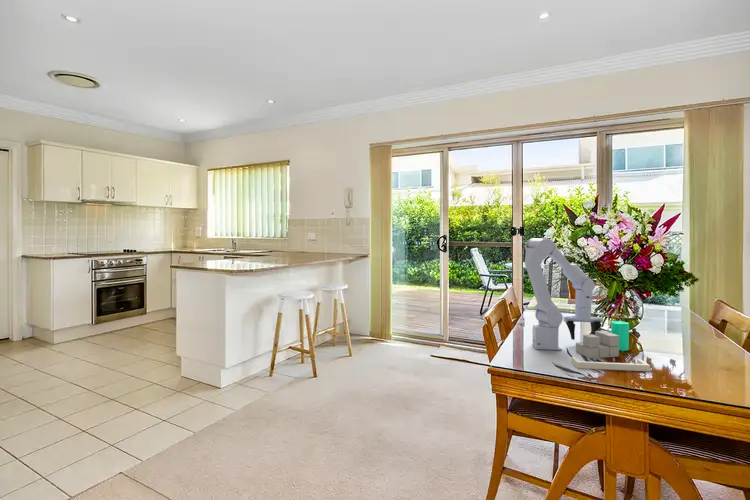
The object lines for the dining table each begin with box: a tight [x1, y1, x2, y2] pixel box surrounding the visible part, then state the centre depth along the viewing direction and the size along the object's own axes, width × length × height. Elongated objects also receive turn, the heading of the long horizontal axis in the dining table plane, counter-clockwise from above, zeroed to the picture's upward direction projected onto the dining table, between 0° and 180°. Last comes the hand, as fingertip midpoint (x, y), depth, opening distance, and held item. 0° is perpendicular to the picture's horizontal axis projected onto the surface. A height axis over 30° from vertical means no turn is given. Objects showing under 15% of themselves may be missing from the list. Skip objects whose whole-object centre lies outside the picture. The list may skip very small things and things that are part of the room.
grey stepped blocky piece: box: [575, 330, 620, 359], centre depth 152 cm, size 12×12×8 cm
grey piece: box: [570, 356, 651, 372], centre depth 136 cm, size 22×6×2 cm, turn 80°
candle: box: [610, 320, 630, 351], centre depth 156 cm, size 6×6×12 cm
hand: (582, 339), depth 162 cm, fingers open, 7 cm apart
